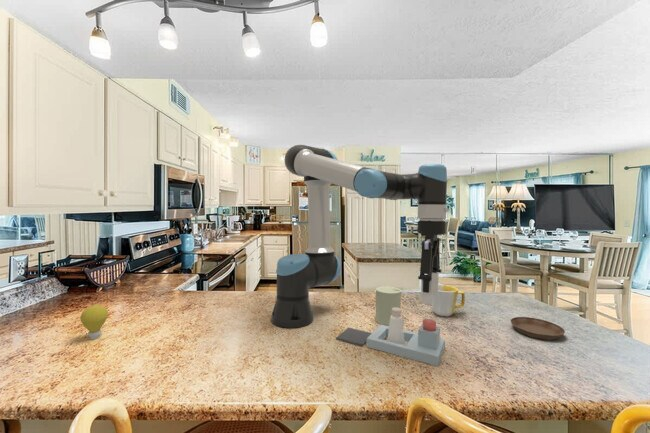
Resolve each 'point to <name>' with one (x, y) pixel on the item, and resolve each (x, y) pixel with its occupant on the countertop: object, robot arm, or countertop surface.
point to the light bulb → (94, 320)
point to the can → (386, 303)
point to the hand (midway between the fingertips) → (429, 298)
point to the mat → (354, 336)
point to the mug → (446, 300)
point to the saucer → (537, 328)
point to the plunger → (429, 325)
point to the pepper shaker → (396, 327)
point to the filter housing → (411, 344)
